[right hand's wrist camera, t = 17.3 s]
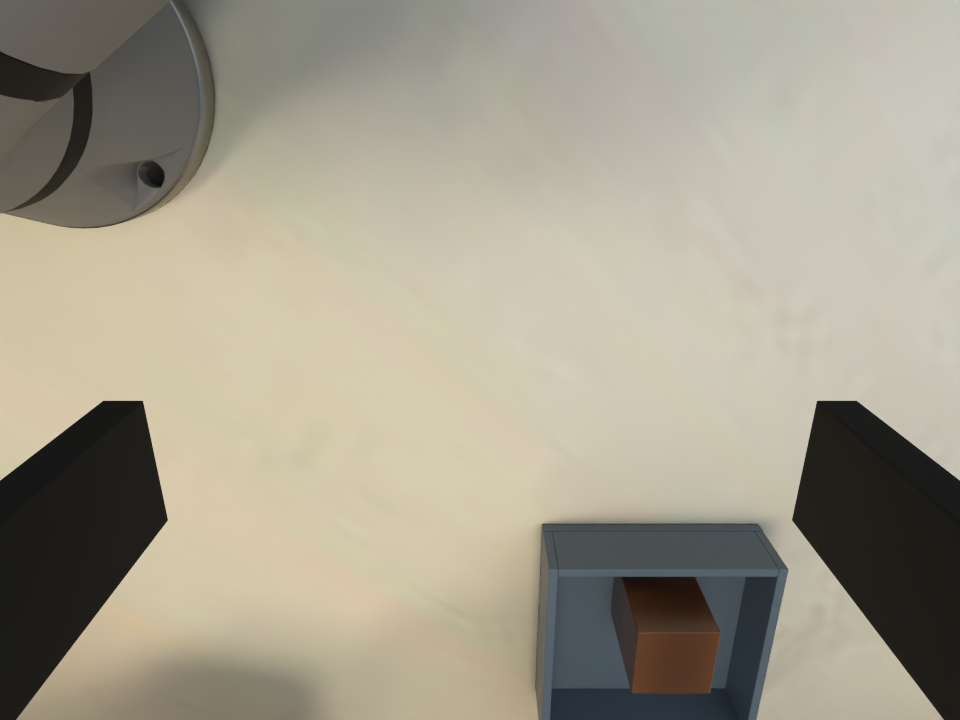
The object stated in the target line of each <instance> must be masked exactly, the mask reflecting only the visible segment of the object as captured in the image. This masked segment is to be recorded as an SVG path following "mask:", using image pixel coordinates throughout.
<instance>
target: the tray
mask: <svg viewBox="0 0 960 720" xmlns="http://www.w3.org/2000/svg"><path fill="white" fill-rule="evenodd" d="M787 573H788V568H787V567H786V565H785V564H784V562H783V561H782V559H781V558H780V556H779V555H778V553H777V552H776V550H775V549H774V547H773V546H772V545H771V543H770V542H769V540H768V539H767V537H766V536H765V534H764V533H763V532H762V529H761V528H760V526H759V525H758V524H543V525H542V540H541V563H540V587H539V611H538V635H537V659H536V683H535V687H536V697H537V707H538V718H539V720H756V718H757V713H758V709H759V704H760V699H761V695H762V690H763V685H764V681H765V676H766V671H767V667H768V662H769V657H770V653H771V648H772V643H773V639H774V634H775V629H776V625H777V620H778V615H779V611H780V606H781V601H782V597H783V592H784V587H785V583H786V578H787ZM614 577H695V578H696V580H697V582H698V584H699V586H700V589H701V591H702V593H703V595H704V597H705V599H706V602H707V604H708V606H709V608H710V610H711V612H712V615H713V617H714V619H715V621H716V623H717V625H718V628H719V630H720V632H721V634H720V639H719V645H718V651H717V657H716V662H715V668H714V674H713V680H712V685H711V691H710V693H631V689H630V685H629V682H628V678H627V674H626V670H625V666H624V662H623V659H622V655H621V651H620V647H619V643H618V639H617V636H616V632H615V628H614V624H613V620H612V616H611V603H612V593H613V582H614Z"/></svg>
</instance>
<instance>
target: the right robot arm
mask: <svg viewBox="0 0 960 720" xmlns="http://www.w3.org/2000/svg"><path fill="white" fill-rule="evenodd" d="M213 115H214V90H213V80H212V75H211V69H210V64H209V60H208V57H207V53H206V50H205V47H204V44H203V41H202V39H201V36H200V33H199V31H198V29H197V27H196V25H195V23H194V20H193V18H192V17H191V15H190V13H189V11H188V10H187V8H186V6H185V4H184V3H183V1H182V0H0V213H4V214H8V215H12V216H17V217H21V218H25V219H30V220H34V221H38V222H43V223H47V224H52V225H56V226H63V227H70V228H99V227H105V226H111V225H115V224H119V223H123V222H126V221H129V220H132V219H135V218H138V217H141V216H144V215H146V214H149V213H151V212H153V211H155V210H156V209H158V208H160V207H162V206H163V205H165V204H166V203H168V202H169V201H170V200H172V199H173V198H174V197H175V196H176V195H177V194H178V193H180V191H181V190H182V189H183V188H184V187H185V186H186V185H187V184H188V182H189V181H190V180H191V178H192V177H193V175H194V174H195V172H196V171H197V169H198V167H199V165H200V163H201V161H202V159H203V157H204V154H205V152H206V149H207V146H208V143H209V139H210V135H211V130H212V125H213ZM167 521H168V519H167V514H166V509H165V504H164V500H163V495H162V490H161V485H160V481H159V476H158V471H157V466H156V462H155V457H154V452H153V447H152V442H151V438H150V433H149V428H148V423H147V419H146V414H145V409H144V404H143V401H103V402H101V403H100V404H99V405H98V406H96V407H95V408H94V409H92V410H91V411H90V412H88V413H87V414H86V415H85V416H83V417H82V418H81V419H79V420H78V421H77V422H76V423H74V424H73V425H72V426H70V427H69V428H68V429H67V430H65V431H64V432H63V433H61V434H60V435H59V436H57V437H56V438H55V439H54V440H52V441H51V442H50V443H48V444H47V445H46V446H45V447H43V448H42V449H41V450H39V451H38V452H37V453H35V454H34V455H33V456H32V457H30V458H29V459H28V460H26V461H25V462H24V463H23V464H21V465H20V466H19V467H17V468H16V469H15V470H13V471H12V472H11V473H10V474H8V475H7V476H6V477H4V478H3V479H2V480H1V481H0V720H16V719H17V718H18V716H19V715H20V714H21V712H22V711H23V710H24V708H25V707H26V706H27V705H28V703H29V702H30V701H31V699H32V698H33V697H34V695H35V694H36V693H37V691H38V690H39V689H40V687H41V686H42V685H43V683H44V682H45V681H46V680H47V678H48V677H49V676H50V674H51V673H52V672H53V670H54V669H55V668H56V666H57V665H58V664H59V662H60V661H61V660H62V659H63V657H64V656H65V655H66V653H67V652H68V651H69V649H70V648H71V647H72V645H73V644H74V643H75V641H76V640H77V639H78V637H79V636H80V635H81V634H82V632H83V631H84V630H85V628H86V627H87V626H88V624H89V623H90V622H91V620H92V619H93V618H94V616H95V615H96V614H97V613H98V611H99V610H100V609H101V607H102V606H103V605H104V603H105V602H106V601H107V599H108V598H109V597H110V595H111V594H112V593H113V591H114V590H115V589H116V588H117V586H118V585H119V584H120V582H121V581H122V580H123V578H124V577H125V576H126V574H127V573H128V572H129V570H130V569H131V568H132V567H133V565H134V564H135V563H136V561H137V560H138V559H139V557H140V556H141V555H142V553H143V552H144V551H145V549H146V548H147V547H148V545H149V544H150V543H151V542H152V540H153V539H154V538H155V536H156V535H157V534H158V532H159V531H160V530H161V528H162V527H163V526H164V524H165V523H166V522H167ZM792 521H793V522H794V523H795V524H796V526H797V527H798V528H799V530H800V531H801V532H802V534H803V535H804V536H805V538H806V539H807V540H808V542H809V543H810V544H811V545H812V547H813V548H814V549H815V551H816V552H817V553H818V555H819V556H820V557H821V559H822V560H823V561H824V563H825V564H826V565H827V567H828V568H829V569H830V570H831V572H832V573H833V574H834V576H835V577H836V578H837V580H838V581H839V582H840V584H841V585H842V586H843V588H844V589H845V590H846V591H847V593H848V594H849V595H850V597H851V598H852V599H853V601H854V602H855V603H856V605H857V606H858V607H859V609H860V610H861V611H862V613H863V614H864V615H865V616H866V618H867V619H868V620H869V622H870V623H871V624H872V626H873V627H874V628H875V630H876V631H877V632H878V634H879V635H880V636H881V637H882V639H883V640H884V641H885V643H886V644H887V645H888V647H889V648H890V649H891V651H892V652H893V653H894V655H895V656H896V657H897V659H898V660H899V661H900V662H901V664H902V665H903V666H904V668H905V669H906V670H907V672H908V673H909V674H910V676H911V677H912V678H913V680H914V681H915V682H916V683H917V685H918V686H919V687H920V689H921V690H922V691H923V693H924V694H925V695H926V697H927V698H928V699H929V701H930V702H931V703H932V705H933V706H934V707H935V708H936V710H937V711H938V712H939V714H940V715H941V716H942V718H943V719H944V720H960V481H959V480H958V479H957V478H956V477H954V476H953V475H952V474H950V473H949V472H948V471H947V470H945V469H944V468H943V467H941V466H940V465H939V464H937V463H936V462H935V461H934V460H932V459H931V458H930V457H928V456H927V455H926V454H925V453H923V452H922V451H921V450H919V449H918V448H917V447H915V446H914V445H913V444H912V443H910V442H909V441H908V440H906V439H905V438H904V437H903V436H901V435H900V434H899V433H897V432H896V431H895V430H893V429H892V428H891V427H890V426H888V425H887V424H886V423H884V422H883V421H882V420H881V419H879V418H878V417H877V416H875V415H874V414H873V413H871V412H870V411H869V410H868V409H866V408H865V407H864V406H862V405H861V404H860V403H859V402H857V401H817V404H816V409H815V414H814V419H813V423H812V428H811V433H810V438H809V442H808V447H807V452H806V457H805V462H804V466H803V471H802V476H801V481H800V485H799V490H798V495H797V500H796V504H795V509H794V514H793V519H792Z"/></svg>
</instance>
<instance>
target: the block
mask: <svg viewBox="0 0 960 720" xmlns="http://www.w3.org/2000/svg"><path fill="white" fill-rule="evenodd" d="M611 616H612V620H613V624H614V628H615V632H616V636H617V639H618V643H619V647H620V651H621V655H622V659H623V662H624V666H625V670H626V674H627V678H628V682H629V685H630V689H631V693H710V691H711V685H712V680H713V674H714V668H715V662H716V657H717V651H718V645H719V639H720V634H721V632H720V630H719V628H718V625H717V623H716V621H715V619H714V617H713V615H712V612H711V610H710V608H709V606H708V604H707V602H706V599H705V597H704V595H703V593H702V591H701V589H700V586H699V584H698V582H697V580H696V578H695V577H614V582H613V593H612V603H611Z"/></svg>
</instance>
